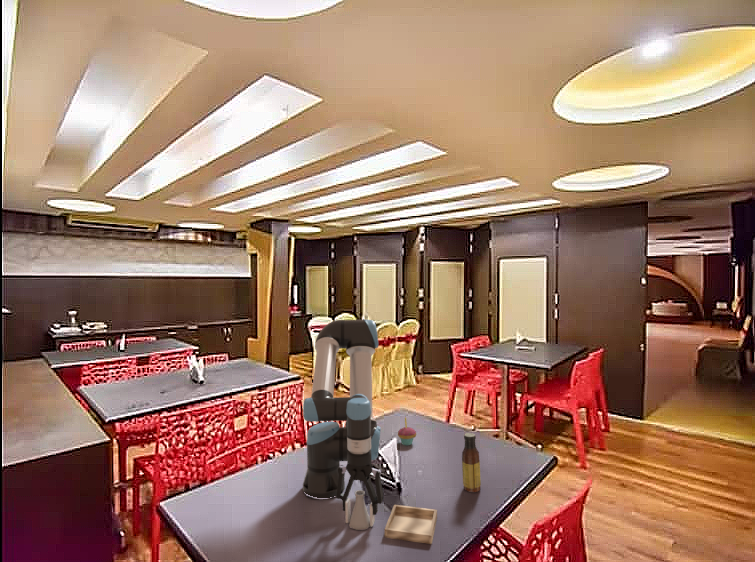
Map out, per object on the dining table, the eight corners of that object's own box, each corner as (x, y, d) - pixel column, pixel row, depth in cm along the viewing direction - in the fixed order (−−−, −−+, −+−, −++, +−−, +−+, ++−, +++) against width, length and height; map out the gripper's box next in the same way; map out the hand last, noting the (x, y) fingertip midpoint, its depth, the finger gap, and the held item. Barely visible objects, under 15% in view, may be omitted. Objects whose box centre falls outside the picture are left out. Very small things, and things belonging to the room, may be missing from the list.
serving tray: (384, 537, 129) (384, 529, 129) (394, 512, 143) (394, 504, 143) (431, 544, 126) (431, 535, 126) (437, 517, 140) (437, 509, 140)
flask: (368, 532, 132) (368, 499, 132) (345, 529, 134) (345, 497, 133) (373, 518, 139) (373, 487, 139) (352, 516, 141) (351, 485, 141)
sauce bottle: (478, 484, 161) (477, 431, 160) (482, 493, 155) (482, 437, 154) (460, 485, 161) (460, 431, 160) (464, 493, 154) (464, 437, 154)
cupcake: (395, 441, 203) (394, 415, 202) (412, 438, 205) (412, 413, 205) (401, 448, 194) (401, 421, 194) (419, 445, 197) (419, 419, 197)
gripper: (324, 451, 135) (325, 524, 135) (388, 457, 130) (388, 533, 130) (332, 442, 142) (333, 511, 143) (393, 447, 137) (394, 519, 138)
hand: (360, 522), depth 136 cm, fingers closed on flask, 7 cm apart
